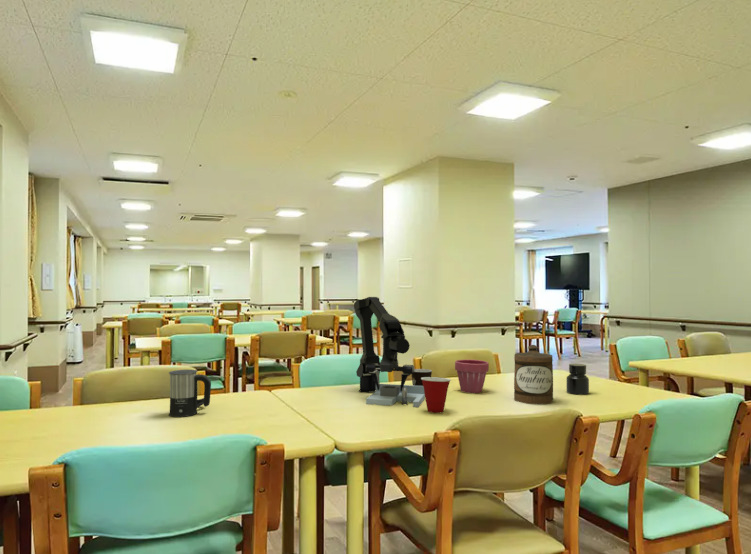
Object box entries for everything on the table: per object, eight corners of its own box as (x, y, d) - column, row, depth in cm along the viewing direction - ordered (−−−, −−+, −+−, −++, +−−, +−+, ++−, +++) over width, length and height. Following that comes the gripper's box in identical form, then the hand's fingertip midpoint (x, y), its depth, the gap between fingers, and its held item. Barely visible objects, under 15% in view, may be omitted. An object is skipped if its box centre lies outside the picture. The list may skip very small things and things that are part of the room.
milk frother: (169, 418, 177) (170, 374, 178) (164, 409, 191) (165, 367, 192) (213, 414, 184) (214, 371, 184) (205, 405, 198) (206, 365, 198)
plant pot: (493, 390, 231) (493, 360, 231) (481, 395, 219) (481, 364, 219) (462, 387, 239) (462, 358, 239) (449, 392, 227) (449, 361, 227)
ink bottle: (594, 393, 225) (594, 365, 226) (581, 396, 220) (581, 367, 221) (574, 390, 233) (574, 362, 234) (561, 392, 228) (561, 364, 229)
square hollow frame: (380, 395, 208) (380, 388, 208) (383, 392, 214) (383, 385, 214) (396, 396, 206) (396, 388, 206) (399, 393, 212) (399, 386, 212)
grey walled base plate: (366, 404, 202) (366, 390, 202) (376, 395, 217) (376, 383, 217) (418, 407, 197) (418, 393, 197) (424, 398, 212) (425, 386, 213)
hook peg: (401, 404, 202) (401, 388, 202) (402, 403, 204) (402, 387, 204) (406, 404, 201) (406, 388, 201) (407, 403, 203) (407, 387, 203)
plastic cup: (454, 409, 194) (454, 376, 194) (445, 415, 184) (445, 381, 184) (426, 406, 199) (426, 374, 199) (416, 412, 189) (416, 378, 189)
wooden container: (515, 403, 205) (516, 346, 205) (512, 395, 220) (512, 342, 220) (556, 405, 203) (556, 347, 203) (549, 397, 217) (549, 343, 218)
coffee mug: (432, 396, 216) (432, 372, 216) (411, 396, 216) (411, 372, 216) (430, 391, 228) (430, 367, 228) (410, 391, 228) (410, 367, 228)
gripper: (362, 352, 205) (361, 392, 204) (409, 354, 200) (409, 395, 200) (369, 349, 216) (369, 387, 215) (414, 350, 211) (414, 390, 211)
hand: (389, 390), depth 210 cm, fingers open, 9 cm apart
